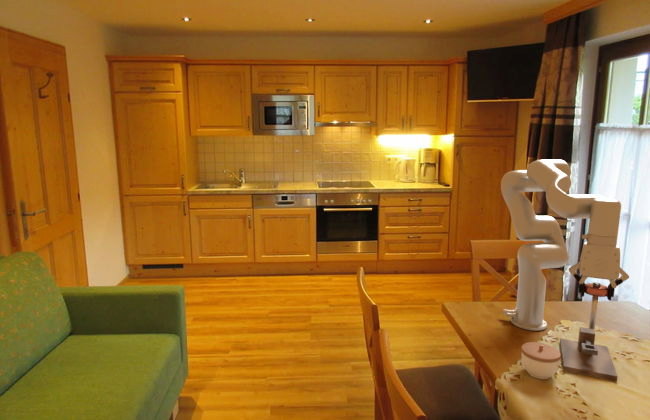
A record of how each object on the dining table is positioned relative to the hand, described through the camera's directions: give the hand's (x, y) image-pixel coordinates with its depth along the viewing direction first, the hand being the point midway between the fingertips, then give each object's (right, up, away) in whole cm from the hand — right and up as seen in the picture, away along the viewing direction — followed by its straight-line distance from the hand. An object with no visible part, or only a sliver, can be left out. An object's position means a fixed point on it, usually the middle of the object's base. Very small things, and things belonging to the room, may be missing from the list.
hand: (595, 296), depth 136 cm
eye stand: (+2, -22, +8) cm, 23 cm away
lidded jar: (-17, -24, 0) cm, 29 cm away
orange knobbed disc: (0, -10, +2) cm, 10 cm away
